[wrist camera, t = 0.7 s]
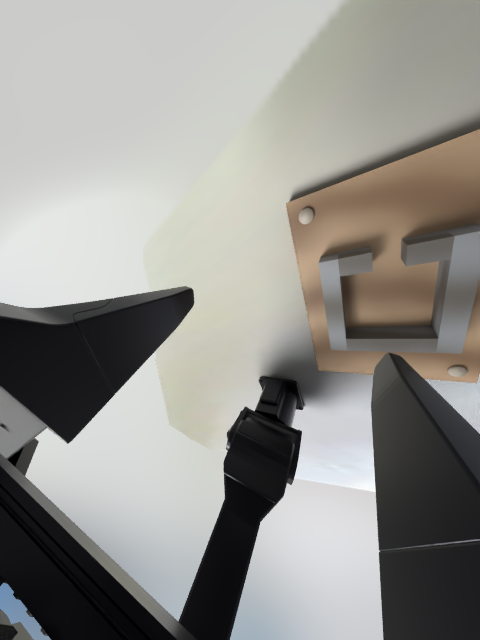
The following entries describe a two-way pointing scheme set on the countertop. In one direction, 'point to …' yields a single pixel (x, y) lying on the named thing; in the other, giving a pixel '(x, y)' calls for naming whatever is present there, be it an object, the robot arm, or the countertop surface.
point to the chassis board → (396, 264)
